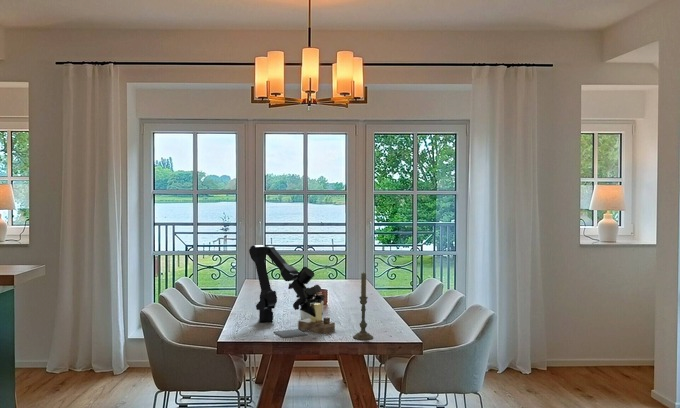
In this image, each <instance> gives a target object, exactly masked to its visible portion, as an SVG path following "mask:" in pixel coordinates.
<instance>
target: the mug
mask: <svg viewBox="0 0 680 408" xmlns="http://www.w3.org/2000/svg"><path fill="white" fill-rule="evenodd" d="M313 298H315V296H314V297H313ZM321 303H322V312H324V300H323V301H322V302H321ZM310 306H311V303H310ZM300 308H301V306H300V305H299V311H300V312H299V315H300V316H299V318H300V320H304V319H308V318H310V319H311V315H310V314H308V313H306V312H304V311H302V310H300Z"/></svg>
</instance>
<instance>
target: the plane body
mask: <svg viewBox="0 0 680 408" xmlns="http://www.w3.org/2000/svg"><path fill="white" fill-rule="evenodd" d="M297 323H298V324H297V329H298V330H300V331H306V332H307V331H308V332H313V333H317V334H318V333H319V334H324V335H325V334H329V333H332V332H334V331H336V328H335V326H336V325H335V324H336V322H334V321H331V318H330V317H326V316H325V317H323V319H322V322H319V323H311V319H310V318H308V319H304V320H302V319H300V320H298V321H297Z"/></svg>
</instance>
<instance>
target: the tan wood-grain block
mask: <svg viewBox="0 0 680 408" xmlns="http://www.w3.org/2000/svg"><path fill="white" fill-rule="evenodd" d="M311 308H312V309H313V311H314V313H315V315H316V316H315V317H313V316H312V315H311V323H319V322H322V320H323V315H322V302H321V303H314V304H311Z"/></svg>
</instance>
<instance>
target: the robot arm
mask: <svg viewBox="0 0 680 408" xmlns="http://www.w3.org/2000/svg"><path fill="white" fill-rule="evenodd" d="M248 252H249V255H250V258H251V260H252V261H253V263H254V264H255V268H256V273H257V278H258V282H259V287H260V294H259V301H258V302H257V304H256V305H255V308H256V309H255V310H257V311H258V312H259V313H258V317H259V318H258V322H259V323H273V321H274V312H273V310H274V309H275V307H276V305H277V302H278V296H277V292H276V290H273V289H272V288H271V283H270V279H269V274H268V271H267V265H266V258H267V256H268V257H269V259H270V260H271V261H272V262H273V264H274V265H275V266H276V267H277V268H278V270H279V271H280V276H281V277H282V279H283V280H284V282H290V283H288V287H287V288H288V290H293V291H294V292H295V294H296V298H297V299H296V301H294V302H293V304H292V308H293V309H294V310H295V311H296V310H299V311H300V310H302V311H304V312H306V313H308V314H310V315H312V316H313V317H315V316H316V315H315V313H314V311H313V309H312V308H311V306H310V303H311V304H314V303H322V301H323V302H324V300H325V299H326V296H325V295H324V294H323V293H321V291H322V287H321V286H320V285H319V284H315V285H313V286H311V287H307V286H306V285H307V284H309V283H310V282H311V280H312V279H313V278H314V277H315V271H313V270H312V269H310V268H309V267H307V266H303V267H302V268H301V270H300V271H298V270H297V269H296V268H295V267H294V266H293V265H290V264H288V262H287V261H286V260H285V259H284V258H283V257H282V256H281V254H280V253H279V252H278V251H277V249H276V248H275V246H273V245H267V246H265V245H263V244H257V245H255V244H254V245H251V246H250V247H249V250H248ZM318 293H321V294H318ZM313 297H315V298H313ZM300 306H301V308H300ZM323 312H324V311H323ZM323 312H322V316H323V315H324V313H323Z"/></svg>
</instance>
